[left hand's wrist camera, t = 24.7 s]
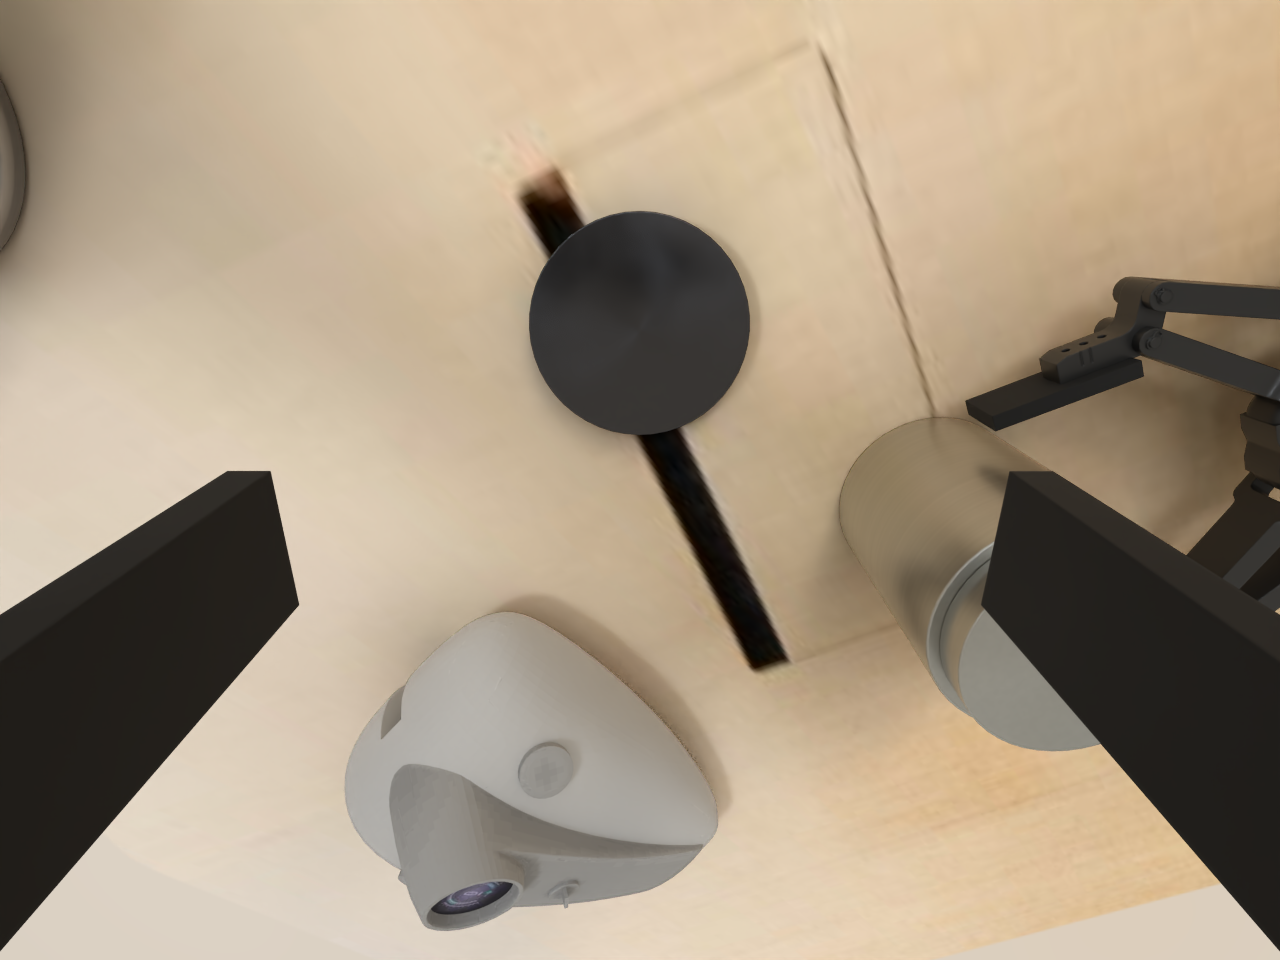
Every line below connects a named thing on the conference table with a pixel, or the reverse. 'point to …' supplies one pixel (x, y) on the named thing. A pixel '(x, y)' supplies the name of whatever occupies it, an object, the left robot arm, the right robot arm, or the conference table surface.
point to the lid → (639, 322)
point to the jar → (951, 571)
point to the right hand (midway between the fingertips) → (1008, 536)
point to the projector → (523, 779)
